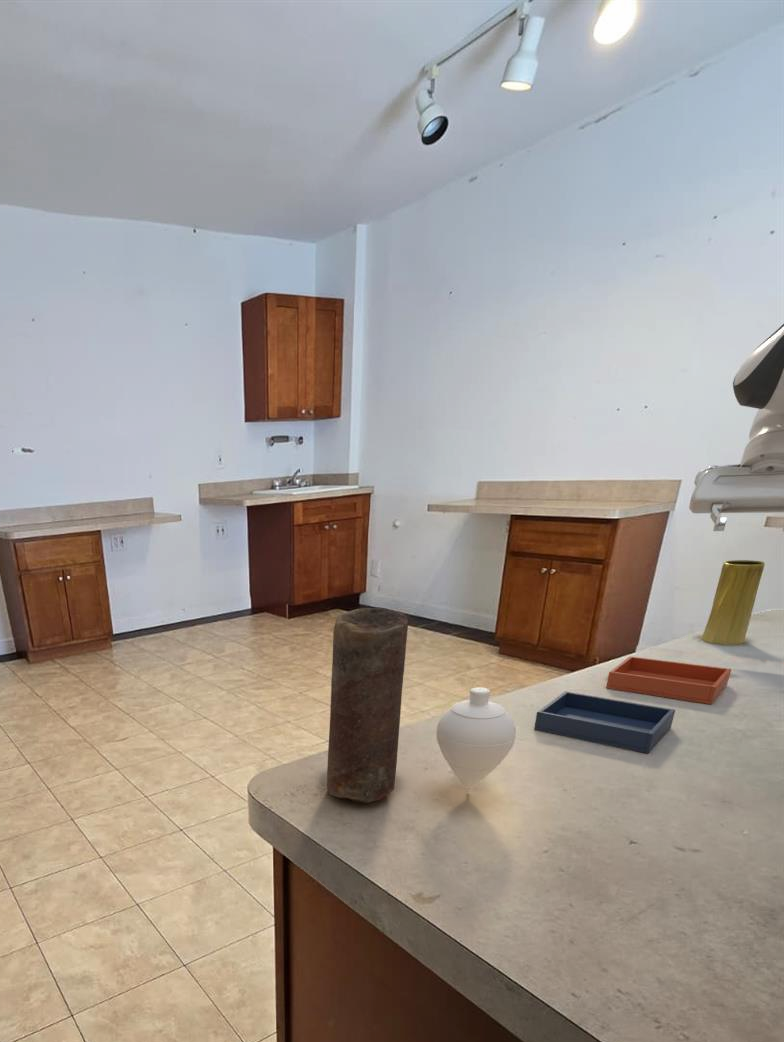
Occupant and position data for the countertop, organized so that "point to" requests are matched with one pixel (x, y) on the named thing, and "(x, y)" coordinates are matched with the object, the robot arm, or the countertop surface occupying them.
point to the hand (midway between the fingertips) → (753, 529)
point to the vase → (733, 602)
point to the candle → (366, 703)
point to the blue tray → (605, 721)
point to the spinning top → (475, 737)
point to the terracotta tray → (669, 679)
